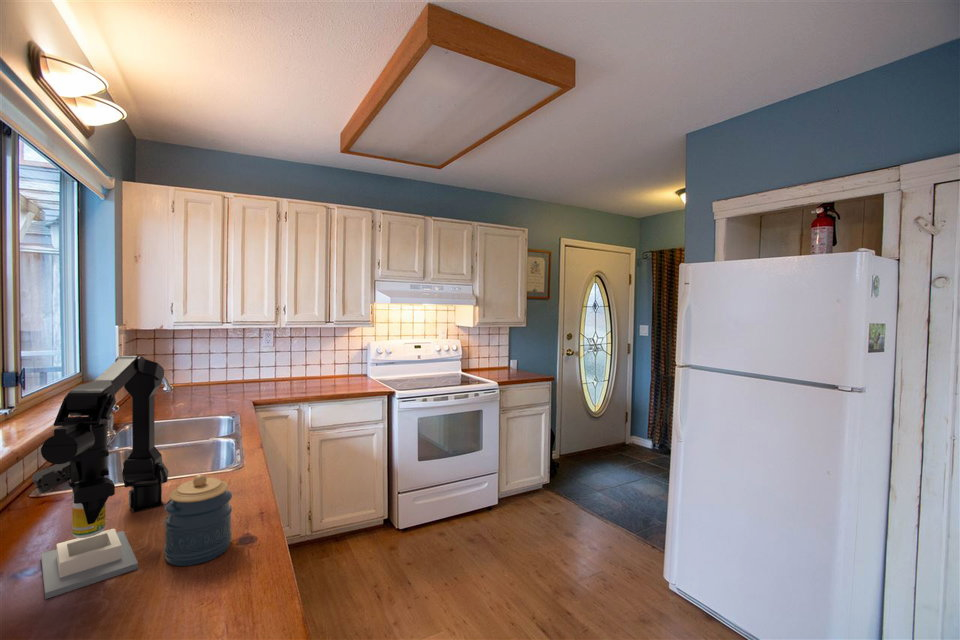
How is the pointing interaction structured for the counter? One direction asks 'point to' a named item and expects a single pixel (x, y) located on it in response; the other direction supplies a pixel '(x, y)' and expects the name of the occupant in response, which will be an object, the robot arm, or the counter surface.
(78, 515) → the supplement bottle
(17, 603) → the counter surface
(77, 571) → the socket board
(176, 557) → the canister
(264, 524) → the counter surface
